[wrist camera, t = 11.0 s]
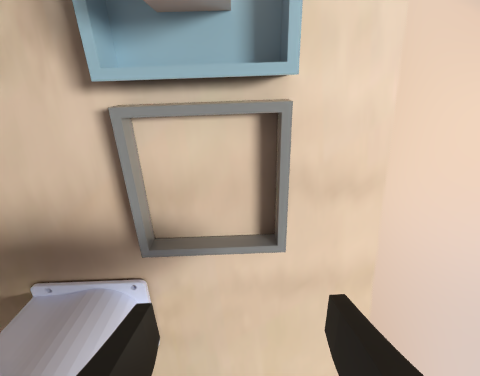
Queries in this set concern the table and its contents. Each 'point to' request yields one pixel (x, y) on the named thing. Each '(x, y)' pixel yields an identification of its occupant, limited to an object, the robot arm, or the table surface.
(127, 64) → the slate-blue tray
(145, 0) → the terracotta block
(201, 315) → the table surface
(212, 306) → the table surface
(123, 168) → the charcoal square frame
